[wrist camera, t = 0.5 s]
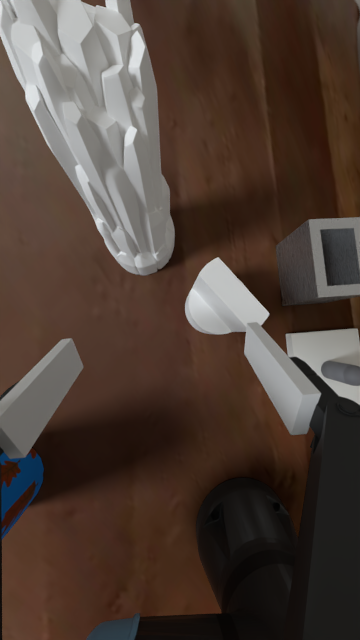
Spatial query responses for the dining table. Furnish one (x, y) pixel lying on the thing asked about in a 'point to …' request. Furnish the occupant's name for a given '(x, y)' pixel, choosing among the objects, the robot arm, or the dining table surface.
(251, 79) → the dining table surface
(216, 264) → the cylinder with rectangular tab
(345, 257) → the steel link
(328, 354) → the keeper board
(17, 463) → the thermos
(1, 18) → the decorative vase
